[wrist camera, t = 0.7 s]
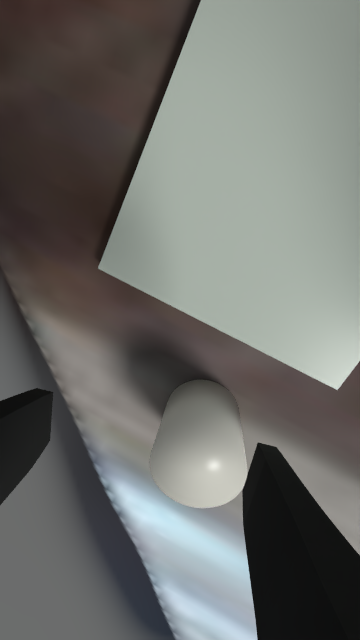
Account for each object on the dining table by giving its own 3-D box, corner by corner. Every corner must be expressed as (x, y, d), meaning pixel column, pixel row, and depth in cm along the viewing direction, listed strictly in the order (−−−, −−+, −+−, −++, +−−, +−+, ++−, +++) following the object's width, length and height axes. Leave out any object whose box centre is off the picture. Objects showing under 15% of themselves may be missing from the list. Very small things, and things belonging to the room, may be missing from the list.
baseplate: (538, 107, 12) (559, 98, 12) (331, 383, 17) (337, 389, 16) (227, -50, 12) (227, -70, 12) (103, 267, 17) (97, 268, 16)
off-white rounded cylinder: (253, 401, 18) (266, 456, 13) (217, 455, 19) (217, 522, 15) (185, 366, 18) (174, 409, 13) (155, 423, 19) (134, 480, 15)
